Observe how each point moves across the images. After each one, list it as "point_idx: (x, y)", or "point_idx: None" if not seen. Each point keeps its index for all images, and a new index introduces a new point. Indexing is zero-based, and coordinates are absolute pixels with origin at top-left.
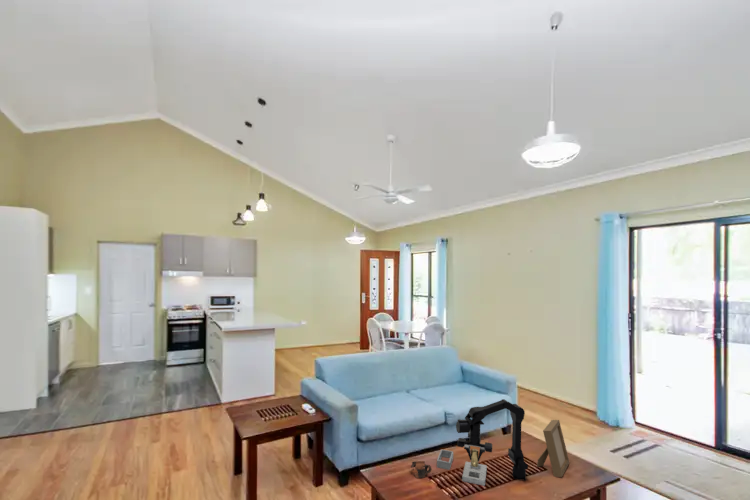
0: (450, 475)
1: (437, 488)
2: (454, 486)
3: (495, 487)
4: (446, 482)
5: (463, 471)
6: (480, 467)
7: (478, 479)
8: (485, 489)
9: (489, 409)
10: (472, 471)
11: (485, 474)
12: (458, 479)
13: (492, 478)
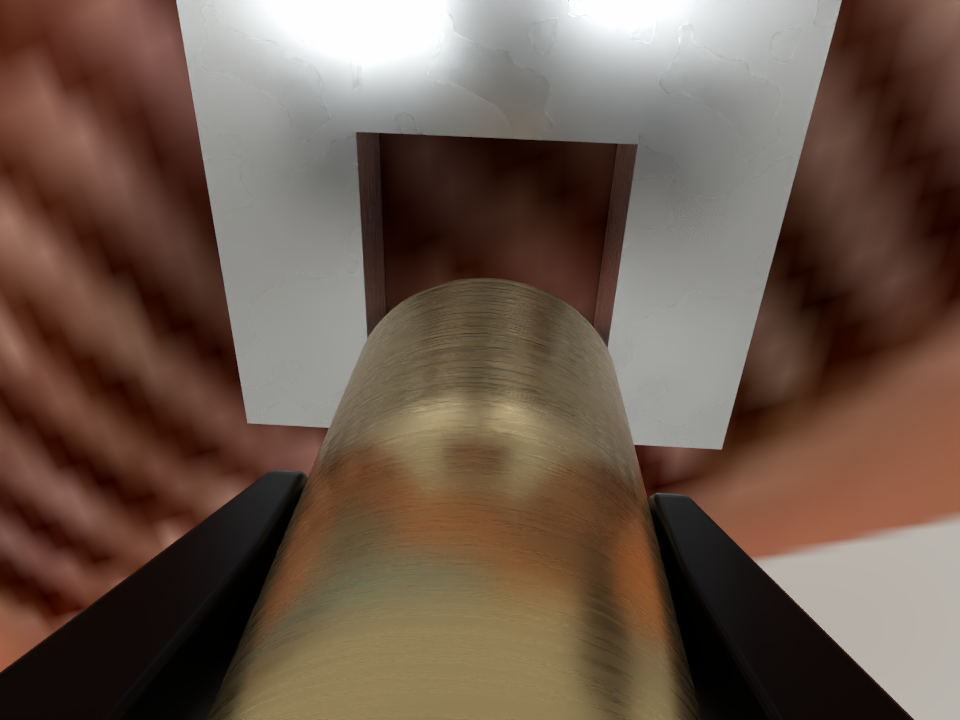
0: (3, 245)
1: (17, 633)
2: None
3: (899, 386)
4: (52, 483)
5: (211, 208)
6: None
7: None
8: (691, 490)
9: None
10: (435, 120)
11: (794, 161)
12: (197, 338)
13: (956, 27)
